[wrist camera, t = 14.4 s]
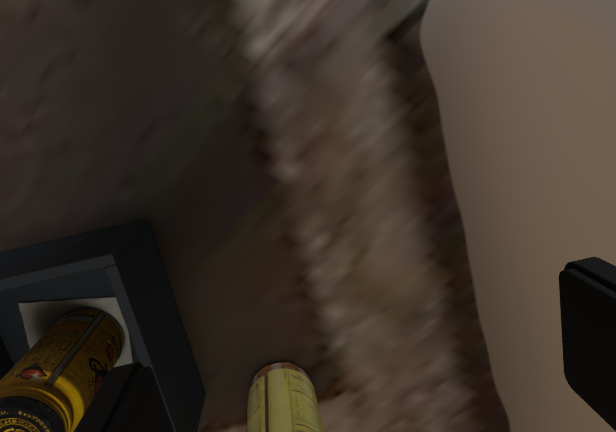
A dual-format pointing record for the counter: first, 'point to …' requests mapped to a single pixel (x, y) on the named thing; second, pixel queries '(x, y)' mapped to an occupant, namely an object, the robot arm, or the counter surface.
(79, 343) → the condiment
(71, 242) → the dark grey open box
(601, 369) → the robot arm
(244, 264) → the counter surface
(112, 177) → the counter surface
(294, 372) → the sauce bottle
